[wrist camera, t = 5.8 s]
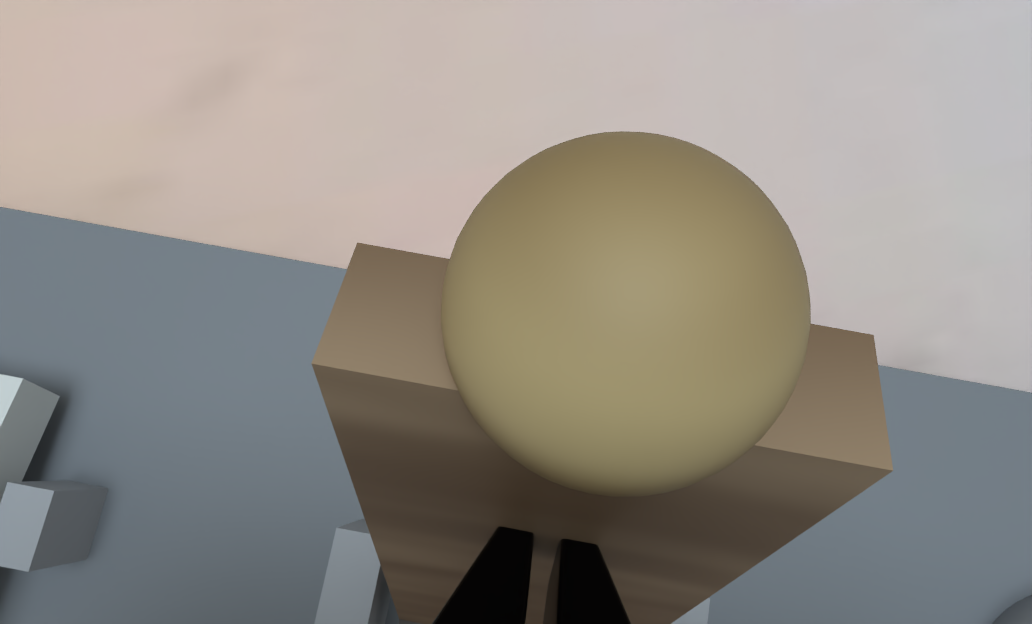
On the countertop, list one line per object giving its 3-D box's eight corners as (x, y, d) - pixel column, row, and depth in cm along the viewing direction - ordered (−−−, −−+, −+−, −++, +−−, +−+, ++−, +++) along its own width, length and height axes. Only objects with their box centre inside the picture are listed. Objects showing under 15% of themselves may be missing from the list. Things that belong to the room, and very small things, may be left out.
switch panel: (1305, 1089, 15) (1589, 1310, 11) (-343, 751, 16) (-619, 843, 12) (1268, 449, 18) (1482, 443, 14) (-117, 198, 19) (-279, 128, 15)
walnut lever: (601, 706, 15) (1116, 472, 3) (394, 666, 15) (202, 303, 3) (611, 578, 16) (995, 108, 5) (424, 542, 16) (357, 1, 5)
